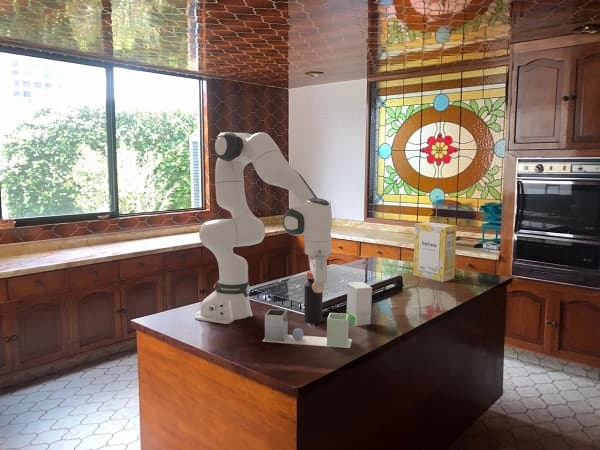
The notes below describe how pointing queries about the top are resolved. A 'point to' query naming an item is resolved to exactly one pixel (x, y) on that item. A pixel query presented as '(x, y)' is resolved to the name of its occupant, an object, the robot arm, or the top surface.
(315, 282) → the ball terracotta
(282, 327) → the tube grey
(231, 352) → the top surface
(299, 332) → the ball slate
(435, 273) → the pasta box
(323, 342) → the board
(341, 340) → the tube sage
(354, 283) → the skincare box
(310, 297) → the bottle
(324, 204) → the robot arm
